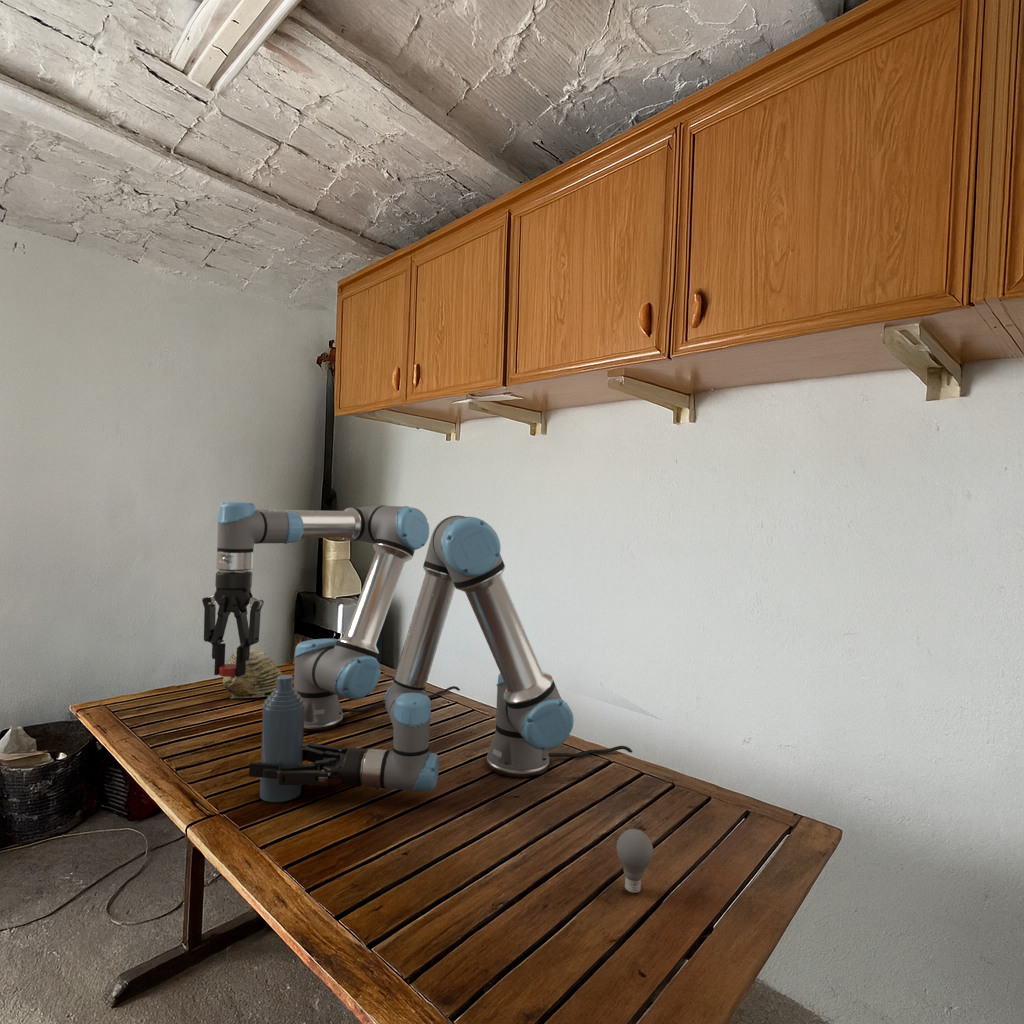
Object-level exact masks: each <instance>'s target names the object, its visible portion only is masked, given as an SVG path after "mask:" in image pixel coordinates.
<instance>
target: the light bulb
mask: <svg viewBox="0 0 1024 1024" xmlns="http://www.w3.org/2000/svg"><path fill="white" fill-rule="evenodd" d="M615 849H616V854H617V857H618V859H619V861H620V863H621V865H622V867H623V873H624V874H623V875H624V876H625V878H624V888H625V890H627V891H628V892H630V893H634V894H635V893H639V892H640V891H641V889H642V887H641V886H642V879H643V877H644V875H645V871H646V868H647V867H648V866H649V864H650V863H651V861H652V859H653V855H654V847H653V843H652V841H651V838H649V836H648V835H647V834H646V833H645V832H643V831H642V830H641V829H636V828H629V829H627V830H625V831H623V832H622V833H621V834H620V835H619V837H618V839H617V841H616V847H615Z"/></svg>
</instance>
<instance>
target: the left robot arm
mask: <svg viewBox="0 0 1024 1024" xmlns="http://www.w3.org/2000/svg"><path fill="white" fill-rule="evenodd" d="M216 521H217V539H216V541H217V542H216V543H217V544H216V563H215V564H216V570H218V571H216V573H215V584H214V585H215V591H214V593H213V595H209V596H206V597H203V598H202V599H201V602H202V605H203V608H204V610H203V611H204V612H203V613H204V615H203V616H204V617H203V641H204V642H205V643H210V644H211V659H212V660H214V671H213V673H214V674H213V675H214V676H220V675H219V667H220V666H221V665H224V664H226V659H225V658H226V643H225V640H224V636H225V632H226V628H227V624H228V621H229V616H230V615H231V613H232V614H233V617H234V618H235V621H236V627H237V632H238V633H237V634H238V639H239V645H238V647H236V649H237V658H236V677H240V676H242V675H244V674H245V670H246V661H247V660H249V656H250V649H251V646H253V645H255V644H257V643H259V641H260V628H261V613H262V611H261V610H262V608H263V606H264V603H265V601H264V599H258V598H255V597H254V596H253V593H252V587H253V572H252V571H251V570H252V569H253V568H254V546H255V545H257V544H258V545H259V544H284V545H287V544H292V543H297V542H298V541H300V539H330V538H331V539H333V538H334V539H335V538H336V539H337V538H339V539H340V538H343V539H345V540H346V541H349V542H364V543H368V544H372V548H373V550H374V551H375V554H374V556H373V559H372V562H371V563H370V568H369V569H368V573H367V575H366V578H365V581H364V583H363V586H362V589H361V591H360V594H359V597H358V600H357V602H356V604H355V607H354V611H353V613H352V616H351V618H350V621H349V624H348V626H347V629H346V632H345V634H344V635H343V636H341V637H340V638H338V639H337V638H317V639H308V640H304V641H300V642H299V643H297V645H296V646H295V650H294V655H293V657H294V672H293V673H294V674H293V688H294V689H295V690H296V691H297V692H298V694H300V697H302V698H303V701H304V702H305V708H304V733H316V732H325V731H329V730H332V729H335V728H337V727H339V726H340V725H342V723H343V722H344V713H343V712H345V713H346V712H349V713H361V712H366V711H369V710H371V709H373V708H374V709H375V708H377V707H381V706H385V701H383V702H378V703H374V704H371V705H367V706H366V707H363V708H362V707H361V708H344V707H343V708H342V706H341V702H340V699H339V698H343V699H347V700H353V701H355V700H356V701H357V700H361V699H364V698H366V696H368V695H370V694H371V693H372V692H373V691H374V690H375V688H376V687H377V685H378V684H379V682H380V678H381V673H382V672H381V671H382V669H380V668H381V665H380V663H379V661H378V657H379V654H380V652H379V649H378V647H377V643H378V640H379V637H380V634H381V631H382V628H383V626H384V624H385V620H386V618H387V615H388V611H389V609H390V606H391V603H392V600H393V597H394V594H395V592H396V589H397V586H398V583H399V581H400V578H401V575H402V573H403V569H404V567H405V564H406V563H407V562H408V561H410V560H413V558H414V555H415V552H416V551H417V550H419V549H421V548H422V547H424V546H425V545H426V544H427V542H428V540H429V538H430V523H429V522H428V517H426V514H425V513H424V512H423V511H422V510H420V509H418V508H416V507H411V506H407V505H403V506H401V505H399V506H397V505H383V504H382V505H381V504H380V505H379V504H378V505H370V506H361V507H346V508H345V509H344V510H317V509H316V510H309V509H308V510H306V509H258V508H257V509H256V504H255V503H254V502H249V501H248V502H247V501H246V502H243V501H224V502H223V501H222V502H221V503H220V505H219V509H218V517H217V520H216ZM216 604H217V606H218V609H216ZM248 605H249V608H250V610H249V621H248V608H247V607H248ZM216 611H217V612H216ZM216 614H217V615H216ZM216 616H217V618H216ZM443 690H444V691H443ZM451 690H456V691H458V692H459V691H461V688H460V687H458V686H455V685H453V686H449V687H447V688H445V689H442V690H439V691H436V692H435V693H432V694H430V695H427V696H428V697H429V699H432V698H434V697H436V696H438V695H443V694H445V693H446V692H449V691H451Z"/></svg>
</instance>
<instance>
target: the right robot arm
mask: <svg viewBox="0 0 1024 1024" xmlns="http://www.w3.org/2000/svg"><path fill="white" fill-rule="evenodd" d="M422 568H423V570H424V572H425V574H424V577H423V580H422V584H421V587H420V590H419V594H418V597H417V600H416V604H415V607H414V611H413V614H412V617H411V621H410V624H409V627H408V629H407V630H408V631H407V633H406V638H405V640H404V643H403V647H402V651H401V653H400V657H399V660H398V663H397V667H396V670H395V673H394V676H393V681H392V683H391V686H390V687H388V689H387V690H386V693H385V694H384V702H385V705H384V707H385V710H386V712H387V713H388V714H387V715H388V717H389V719H390V722H391V725H392V729H393V733H392V734H393V735H392V737H393V738H392V750H389V749H380V748H379V749H378V748H369V749H366V748H361V747H360V748H359V747H350V748H348V747H343V746H341V747H339V746H332V745H326V744H319V743H314V742H313V743H312V742H308V743H306V745H303V760H302V762H304V761H306V762H310V763H305V764H303V763H302V765H293V766H284V767H282V763H280V764H272V763H261V762H259V761H258V762H257V761H255V762H254V761H251V762H250V763H248V764H249V765H248V777H249V778H251V777H252V778H260V777H262V778H276V779H278V785H302V786H306V785H307V786H309V785H310V786H313V785H317V786H322V787H326V786H328V785H329V780H332V779H340V780H341V782H342V785H343V786H344V787H354V788H360V787H362V786H363V787H364V788H372V789H375V791H376V790H380V789H383V790H385V789H386V790H398V791H399V790H400V791H407V792H412V793H414V792H419V793H421V792H423V793H425V792H432V791H433V790H434V789H435V788H436V786H437V784H438V779H439V774H440V773H439V771H440V758H439V755H438V754H437V753H434V752H432V751H431V752H430V732H431V731H430V730H431V717H432V711H431V698H429V697H428V696H429V695H426V694H425V690H426V686H427V683H428V681H429V677H430V673H431V669H432V666H433V663H434V660H435V657H436V653H437V650H438V646H439V643H440V640H441V637H442V634H443V630H444V627H445V624H446V620H447V617H448V614H449V610H450V607H451V604H452V600H453V597H454V594H455V591H456V590H458V591H461V592H462V593H465V596H466V597H467V601H468V603H469V605H470V606H471V609H472V611H473V614H474V617H475V619H476V621H477V623H478V625H479V628H480V630H481V632H482V635H483V637H484V638H485V641H486V644H487V646H488V648H489V650H490V653H491V655H492V657H493V659H494V661H495V664H496V666H497V668H498V671H499V672H500V673H499V674H498V677H497V683H496V710H495V711H496V712H495V732H494V735H493V738H492V740H491V743H490V746H489V749H488V751H487V754H486V766H487V767H488V769H490V770H491V771H492V772H494V773H496V774H498V775H500V776H501V775H502V776H505V777H511V778H519V779H520V778H521V779H522V778H532V777H537V776H540V775H542V774H544V773H546V772H548V770H549V768H550V758H580V757H581V758H582V757H584V756H587V755H590V754H609V753H612V752H615V751H619V750H625V751H626V752H628V753H631V754H632V753H634V752H633V750H632V749H631V747H629V746H626V745H618V746H614V747H610V748H605V749H604V748H603V749H588V750H584V751H581V752H576V753H572V752H571V753H569V752H549V751H552V750H555V749H557V748H559V747H561V746H562V745H563V744H564V743H565V742H566V741H567V740H568V738H569V736H570V735H571V732H572V730H573V729H574V728H573V727H574V722H575V720H574V719H575V718H574V714H573V711H572V708H571V707H570V705H569V704H568V703H567V702H566V701H565V700H563V698H562V696H561V695H560V692H559V690H558V687H557V685H556V683H555V681H554V679H553V676H552V675H551V674H550V673H547V672H544V671H543V670H542V668H541V665H540V663H539V661H538V657H537V656H536V653H535V651H534V648H533V646H532V644H531V642H530V639H529V637H528V634H527V633H526V629H525V627H524V624H523V623H522V621H521V618H520V616H519V613H518V611H517V608H516V606H515V604H514V602H513V600H512V597H511V595H510V592H509V590H508V587H507V585H506V582H505V580H504V578H503V574H504V571H505V569H506V565H505V562H504V559H503V557H502V555H501V541H500V538H499V535H498V533H497V532H496V531H495V529H494V528H493V527H492V525H490V524H489V523H487V522H486V521H485V520H483V519H480V518H478V517H475V516H465V515H457V514H456V515H451V516H448V517H445V518H444V519H442V520H440V522H438V523H437V524H436V526H435V527H434V528H433V531H432V533H431V536H430V539H429V543H428V548H427V551H426V554H425V558H424V562H423V565H422Z"/></svg>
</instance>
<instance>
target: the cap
mask: <svg viewBox="0 0 1024 1024" xmlns="http://www.w3.org/2000/svg"><path fill="white" fill-rule="evenodd" d="M218 676H220V677H231V676H236V664H227V663H225V664H224V665H221V666H220V667H219V675H218Z"/></svg>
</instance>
